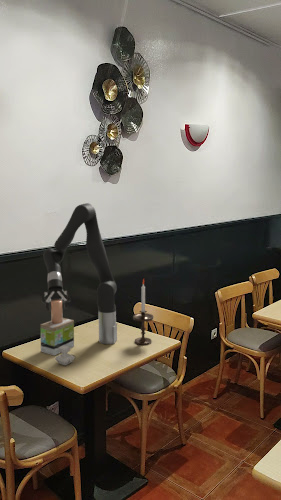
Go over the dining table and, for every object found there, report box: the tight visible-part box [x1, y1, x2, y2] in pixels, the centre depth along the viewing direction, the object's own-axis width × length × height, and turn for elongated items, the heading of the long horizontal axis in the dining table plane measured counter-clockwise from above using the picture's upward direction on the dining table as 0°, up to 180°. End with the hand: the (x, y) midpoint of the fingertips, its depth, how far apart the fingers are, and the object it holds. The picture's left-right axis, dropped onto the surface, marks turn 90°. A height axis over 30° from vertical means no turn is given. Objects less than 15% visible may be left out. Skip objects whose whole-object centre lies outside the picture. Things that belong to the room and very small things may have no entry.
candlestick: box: [132, 278, 154, 346], centre depth 246 cm, size 11×11×35 cm
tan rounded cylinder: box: [50, 299, 64, 324], centre depth 236 cm, size 6×6×11 cm
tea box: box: [40, 317, 75, 357], centre depth 238 cm, size 15×10×15 cm, turn 148°
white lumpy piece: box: [54, 345, 75, 366], centre depth 221 cm, size 9×7×8 cm
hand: (56, 309), depth 234 cm, fingers open, 8 cm apart
